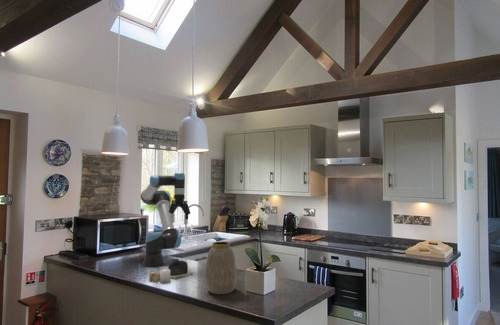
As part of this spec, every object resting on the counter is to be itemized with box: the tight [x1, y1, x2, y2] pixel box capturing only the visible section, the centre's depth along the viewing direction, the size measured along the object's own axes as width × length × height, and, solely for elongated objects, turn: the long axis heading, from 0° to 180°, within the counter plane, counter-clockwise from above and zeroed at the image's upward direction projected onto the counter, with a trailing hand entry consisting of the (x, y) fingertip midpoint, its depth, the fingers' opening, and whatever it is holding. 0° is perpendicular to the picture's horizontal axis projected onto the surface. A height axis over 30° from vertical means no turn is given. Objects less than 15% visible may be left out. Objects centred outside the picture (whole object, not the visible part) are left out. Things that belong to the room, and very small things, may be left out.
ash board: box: [170, 271, 193, 280], centre depth 240 cm, size 12×15×1 cm
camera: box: [167, 258, 189, 275], centre depth 240 cm, size 13×10×10 cm
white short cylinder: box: [159, 268, 171, 284], centre depth 226 cm, size 6×6×7 cm
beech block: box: [148, 271, 160, 283], centre depth 228 cm, size 5×5×5 cm
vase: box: [205, 241, 237, 295], centre depth 207 cm, size 17×17×27 cm
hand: (179, 223), depth 264 cm, fingers open, 13 cm apart
